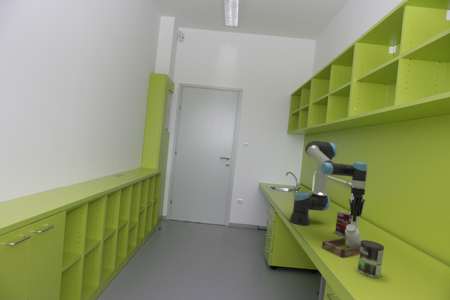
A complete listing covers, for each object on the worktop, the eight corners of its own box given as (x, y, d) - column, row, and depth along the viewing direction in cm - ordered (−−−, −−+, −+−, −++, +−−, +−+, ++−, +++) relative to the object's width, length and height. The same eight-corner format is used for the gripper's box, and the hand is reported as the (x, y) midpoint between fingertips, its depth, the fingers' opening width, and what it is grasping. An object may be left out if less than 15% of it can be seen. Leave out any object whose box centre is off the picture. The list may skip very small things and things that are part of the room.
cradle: (321, 247, 160) (322, 241, 160) (343, 243, 171) (343, 237, 171) (343, 257, 148) (343, 250, 148) (364, 252, 159) (365, 246, 159)
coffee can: (365, 276, 128) (368, 247, 127) (353, 266, 138) (356, 239, 137) (385, 278, 128) (389, 249, 128) (372, 267, 139) (375, 240, 138)
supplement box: (334, 234, 190) (337, 211, 189) (338, 233, 193) (340, 211, 192) (346, 238, 183) (349, 215, 183) (350, 237, 186) (352, 214, 186)
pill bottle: (354, 252, 161) (350, 234, 155) (345, 243, 168) (340, 226, 162) (365, 244, 162) (361, 227, 156) (355, 237, 170) (350, 220, 163)
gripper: (357, 188, 155) (354, 229, 155) (370, 188, 163) (367, 227, 162) (345, 186, 162) (342, 225, 161) (358, 186, 169) (355, 224, 168)
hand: (354, 226), depth 162 cm, fingers closed
